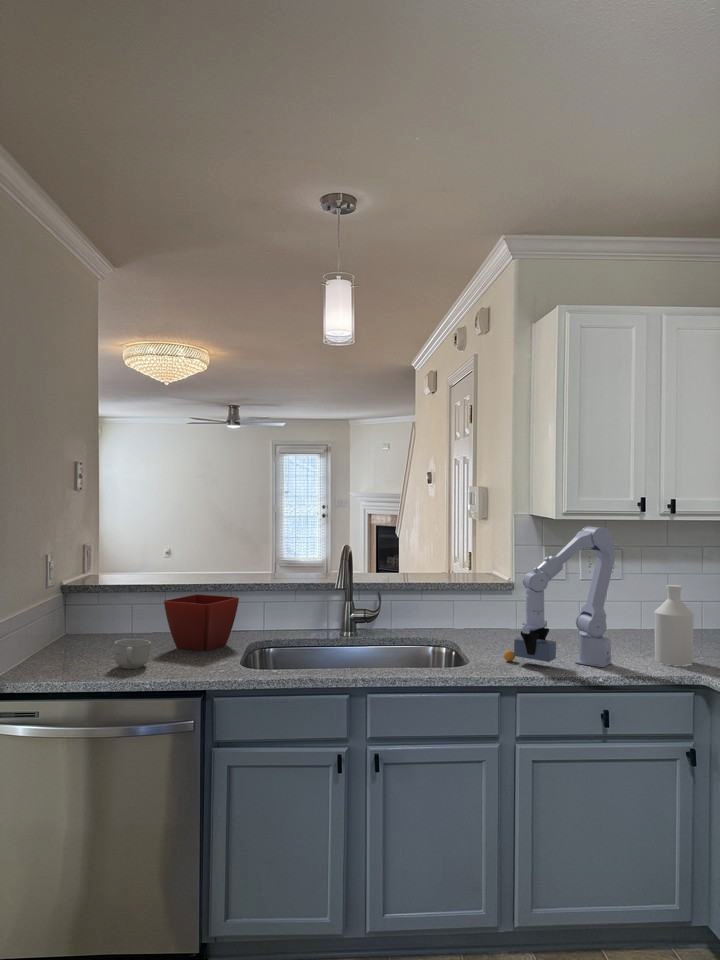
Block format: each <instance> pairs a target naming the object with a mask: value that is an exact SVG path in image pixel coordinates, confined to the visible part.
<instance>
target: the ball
mask: <svg viewBox="0 0 720 960" xmlns="http://www.w3.org/2000/svg"><path fill="white" fill-rule="evenodd" d="M515 657H516V656H514V650H510V649H508V650H505V652H504V653H503V659H504V660H505V661H506V662H509V661H510V662H513V661H514V660H515Z"/></svg>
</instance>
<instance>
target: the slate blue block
mask: <svg viewBox="0 0 720 960" xmlns="http://www.w3.org/2000/svg"><path fill="white" fill-rule="evenodd" d="M513 642H514V644H513V646H514V647H513V649H514V650H513V652H514V656H515V657H518V658H523V659H530V660H535V661H541V662H547V663H549V662H552V661H553V660H555V659H557V656H556V655H557V641H556V640H555V641H554V640H548V639H545V640H543V639H537V642H536V649H535V654H534V655H529V654H527V650H526V646H525V642H524V640H523V638H522V636H521V635H520V637H516V638H514V641H513Z"/></svg>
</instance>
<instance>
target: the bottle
mask: <svg viewBox="0 0 720 960" xmlns="http://www.w3.org/2000/svg"><path fill="white" fill-rule="evenodd" d="M666 591H667V595H666V596H667V599H665V601H664V602H662V604H661V605H660V606H658V607H657V608H656V609H655V610H654V613H653V614H654V616H653V617H654V619H653V621H654V662H655V661H657V662H659V663H663V664H670V665H686V664H691V663H692V662H693V658H694V652H693V651H694V620H695V619H694V617H695V615H694V612H692V611H691V610H690V609H689V608H688V606H687V605H686V604H684V602H683V601H682V600H681V591H682V585H679V584H666ZM657 662H656V663H657ZM659 663H658V664H659ZM663 664H662V665H663Z"/></svg>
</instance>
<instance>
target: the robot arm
mask: <svg viewBox="0 0 720 960" xmlns="http://www.w3.org/2000/svg"><path fill="white" fill-rule="evenodd" d="M576 533H577V534H575V536H574V537H573V538H572V539H571V540H570V541H569V542H568V543H567V544H566V545H565V546H564V547H563V548H562V549H561V550H560V551H559V552H558V553H557V554H556V555H549V556H545V557H544V558H543V560H544V561H542V562H541V564H539V565H537V566H536V567H534V568H533V571H529V572H527V573H526V574H525V575H524V578H523V579H522V585H523V586H524V587H525V621H524V622H522V631H520V637H521V636H522V638H523V640H524V642H525V646H526V650H527V654H529V655H534V654H535V649H536V642H537V639H543V640H547V639H546V638H547V636H548V634H549V632H550V628H548V627H547V626H548V620H545V590H546V589H547V587H548V586H549V582H550V581H551V580H553V579H554V578H555V577H556V576H557V575H558V574H559V573H560V572H561V571H562V570H564V569H563V568H564V564H565V563H566V562H567V561H569V560H570V559H571V558H572V557H574V556H575V555H576V554H577V553H578V552H580V551H581V550H582V549H591V550H592V552H593V553H594V555H595V556H596V560H595V561H596V562H595V563H594V570H593V573H592V577H591V578H592V579H591V582H590V586H589V591H588V595H587V599H586V603H585V604H584V605H583V606H582V607H581V609H580V613H579V614H578V615H577V617H576V619H575V625H576V628H577V629H578V630H579V633H578V634H579V641H578V642H579V643H578V644H579V645H578V652H579V653H578V655H579V657H578V659H577V660H575V661H574V664H578V665H579V664H580V665H585V666H590V667H591V666H592V667H598V668H605V667H607V666H608V665H610V664H612V642H611V639H610V638H609V637H606V636H604V634H605V633H606V631H607V613H606V611H605V609H604V607H605V602H606V598H607V593H608V590H609V586H610V580H611V576H612V573H613V568H614V563H615V559H616V551H615V545H614V535H613V534H612V533H611V531H610V530H609V529H608V528H606V527H597V526H592V525H587V526H584V527H583V528H582V529H581V530H579V531H578V532H576Z"/></svg>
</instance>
